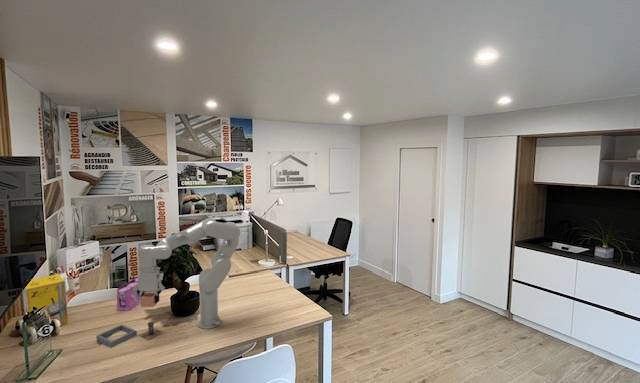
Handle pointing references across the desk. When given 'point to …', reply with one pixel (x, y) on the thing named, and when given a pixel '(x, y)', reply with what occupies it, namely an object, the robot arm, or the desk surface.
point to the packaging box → (47, 297)
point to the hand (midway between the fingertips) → (150, 301)
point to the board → (151, 332)
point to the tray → (105, 335)
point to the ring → (148, 299)
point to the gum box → (128, 296)
